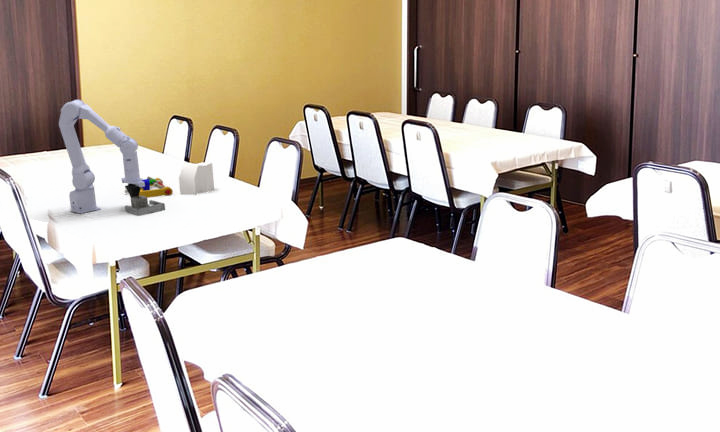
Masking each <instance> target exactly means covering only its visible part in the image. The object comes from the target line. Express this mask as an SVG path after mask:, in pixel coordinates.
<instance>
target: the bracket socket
mask: <svg viewBox="0 0 720 432" xmlns="http://www.w3.org/2000/svg"><path fill="white" fill-rule="evenodd" d="M165 204H166V203H164V202H160V201H156V200H152V199H150V200H148V205H147V206H148V207H144V208H139V209H138V208H135V207H132V206H130V205H124V210H125V211H124V212H125V213H128V214H132V215H135V216H143V215H148V214H152V213H156V212H161V211H165V210H166V205H165Z"/></svg>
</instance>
